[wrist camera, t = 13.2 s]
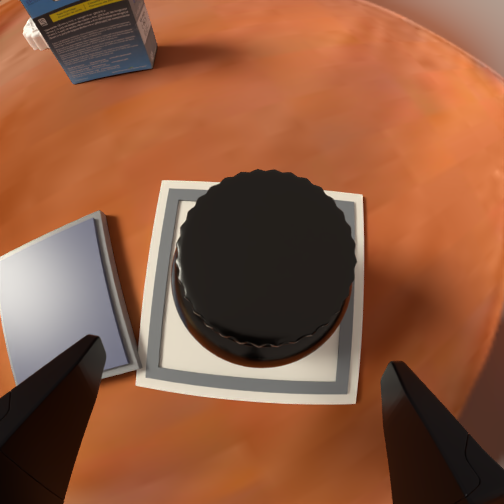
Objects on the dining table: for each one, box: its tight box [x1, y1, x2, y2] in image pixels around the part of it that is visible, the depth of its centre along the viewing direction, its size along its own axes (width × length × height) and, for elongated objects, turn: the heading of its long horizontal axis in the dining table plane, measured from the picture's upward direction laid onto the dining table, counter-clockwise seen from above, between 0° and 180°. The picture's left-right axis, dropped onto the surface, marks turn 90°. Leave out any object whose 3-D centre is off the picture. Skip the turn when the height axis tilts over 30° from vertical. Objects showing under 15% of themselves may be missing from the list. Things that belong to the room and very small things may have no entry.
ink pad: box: [0, 210, 143, 386], centre depth 19 cm, size 11×11×1 cm
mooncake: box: [23, 18, 50, 51], centre depth 27 cm, size 12×12×4 cm
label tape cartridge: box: [20, 0, 157, 84], centre depth 20 cm, size 9×4×12 cm, turn 91°
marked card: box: [136, 180, 364, 404], centre depth 20 cm, size 14×14×1 cm
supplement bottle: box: [171, 169, 357, 368], centre depth 14 cm, size 7×7×12 cm
